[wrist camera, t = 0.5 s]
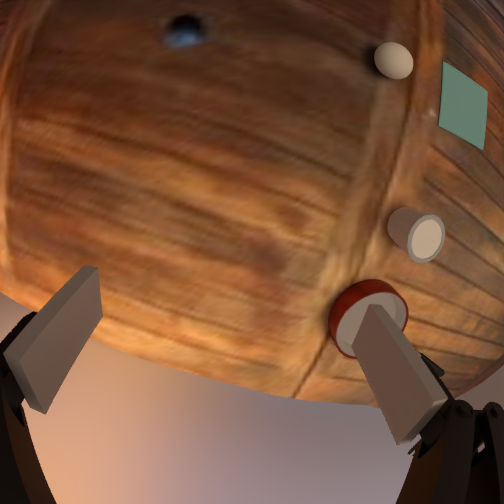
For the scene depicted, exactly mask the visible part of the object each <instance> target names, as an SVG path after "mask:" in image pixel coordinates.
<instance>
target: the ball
mask: <svg viewBox="0 0 504 504" xmlns="http://www.w3.org/2000/svg"><path fill="white" fill-rule="evenodd" d="M374 61H375V64H376V66H377V68H378V70H379V71H380V72H381V73H382V74H384V75H385V76H387V77H389V78H392V79H402V78H405V77H407V76H408V75H409V74H410V73H411V71H412V68H413V59H412V56H411V54H410V53H409V51H408V50H407V49H406V48H405V47H403V46H402V45H400V44H397V43H393V42H387V43H384V44H381V45H380V46H379V47H378V48H377V49H376V51H375V54H374Z"/></svg>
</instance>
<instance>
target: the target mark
mask: <svg viewBox="0 0 504 504" xmlns="http://www.w3.org/2000/svg"><path fill="white" fill-rule="evenodd" d="M487 93H488V91H486V90H485V89H484V88H482V87H481V86H480V85H478V84H477V83H475V82H474V81H473V80H471V79H470V78H468V77H467V76H466V75H464V74H463V73H461V72H460V71H458V70H457V69H455V68H453V67H452V66H450V65H449V64H447V63H445V62H444V61H443V65H442V88H441V101H440V111H439V120H438V126H439V127H441V128H443V129H445V130H447V131H449V132H451V133H453V134H455V135H457V136H459V137H460V138H462V139H464V140H466V141H467V142H469V143H471V144H473V145H474V146H476V147H478V148H479V149H481V150H483V147H484V138H485V128H486V116H487Z"/></svg>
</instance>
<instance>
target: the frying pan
mask: <svg viewBox="0 0 504 504" xmlns="http://www.w3.org/2000/svg"><path fill="white" fill-rule="evenodd" d="M369 304H377V305H382V306H383V307H384V309H385V310H386V311H387V313H388V314H389V315H390V317H391V318H392V319H393V320H394V322H395V323H396V324H397V326H398V327H399V328H400V330H401V331H402V332H403V331H404V329H405V327H406V324H407V321H408V307H407V304H406V302H405V300H404V299H403V298H402V297H401V296H400V294H399V293H398V292H397V291H396V290H395V289H394V288H393V287H392V286H390V285H389V284H388V283H386V282H383V281H379V280H368V281H363V282H360V283H358V284H355V285H353V286H352V287H350V288H349V289H347V290H346V291H345V292H344V293H343V294H341V296H340V297H339V298H338V299H337V300H336V302H335V303H334V305H333V307H332V309H331V311H330V314H329V319H328V327H329V330H330V334H331V336H332V338H333V340H334V342H335V345H336V347H337V348H338V350H339V352H341V353H342V354H343V355H344V356H346V357H348V358H352V359H357V358H356V356H355V353H354V351H353V349H352V347H351V346H352V343H353V341H354V339H355V337H356V334H357V332H358V330H359V327H360V325H361V323H362V320H363V318H364V315H365V313H366V311H367V308H368V306H369ZM416 352H417V353H418V354H419V356H420V357H423V358H424V359H425V360H426V361H427V362H429V363H430V364H431V366H432V367H433V369H434V370H435V373H437V374H438V376H440V377H442V376H443V375H444V370H443V369H441V368H440V367H439V366H438V365H436V364H435V363H434V362H433V361H431V360H430V359H429V358H427V357H426V356H425V355H424V354H422V353H419V352H418V351H416Z"/></svg>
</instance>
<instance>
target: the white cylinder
mask: <svg viewBox="0 0 504 504" xmlns="http://www.w3.org/2000/svg"><path fill="white" fill-rule="evenodd" d="M387 230H388V233H389V236H390V237H391V238H392V240H393V241H394V242H395V243H396V244H398V245H399V246H400V247H401V248H402V249H403V250H404V251H405V252H406V253H407V254H408V255H409V256H410V257H411V258H412V259H413V260H414V261H416V262H418V263H425V262H429V261H430V260H432V259H433V258H435V257H436V255H437V254H438V253H439V252H440V250H441V248H442V246H443V243H444V238H445V229H444V224H443V223H442V221H441V220H440V218H438V217H437V216H435V215H433V214H429V213H426V212H422V211H419V210H415V209H411V208H408V207H400V208H398V209H397V210H395V211H394V212H393V213H392V214H391V216H390V218H389V221H388V227H387Z"/></svg>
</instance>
